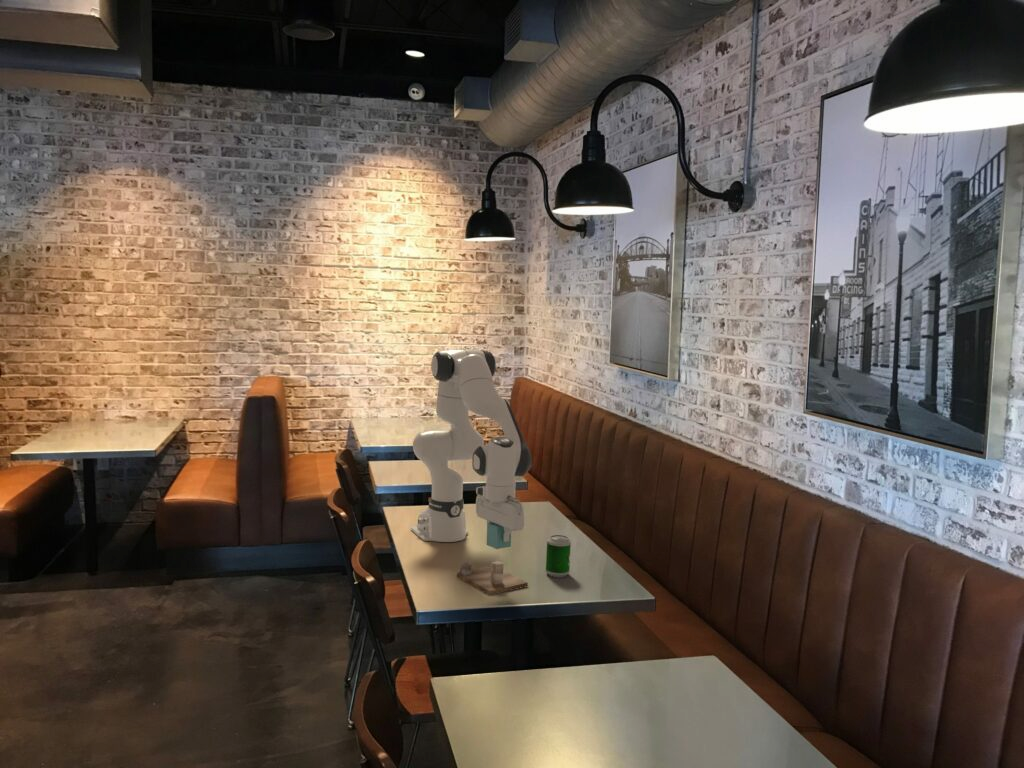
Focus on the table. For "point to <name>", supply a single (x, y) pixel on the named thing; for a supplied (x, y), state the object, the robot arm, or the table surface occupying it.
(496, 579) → the stand
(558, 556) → the soda can
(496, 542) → the light blue toy cube
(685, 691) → the table surface
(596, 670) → the table surface
